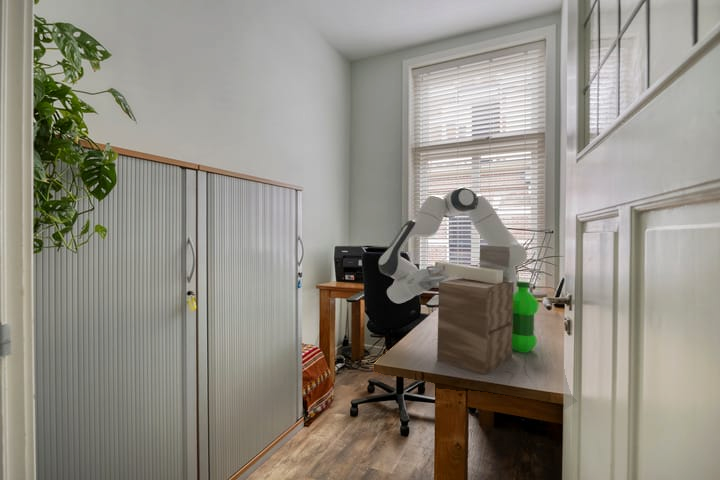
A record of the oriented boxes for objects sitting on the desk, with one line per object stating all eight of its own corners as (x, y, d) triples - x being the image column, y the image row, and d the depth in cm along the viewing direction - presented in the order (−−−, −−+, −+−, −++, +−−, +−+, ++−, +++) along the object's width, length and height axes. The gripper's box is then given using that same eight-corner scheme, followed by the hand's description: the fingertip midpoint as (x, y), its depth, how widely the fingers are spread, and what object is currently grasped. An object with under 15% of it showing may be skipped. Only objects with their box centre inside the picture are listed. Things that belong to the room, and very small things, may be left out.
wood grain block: (468, 345, 130) (470, 244, 129) (511, 356, 119) (514, 246, 118) (437, 360, 114) (439, 245, 113) (484, 375, 103) (487, 247, 102)
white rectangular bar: (442, 271, 133) (442, 261, 132) (502, 282, 114) (503, 270, 114) (434, 272, 130) (435, 262, 129) (495, 284, 111) (496, 271, 111)
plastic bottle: (528, 357, 119) (530, 284, 119) (500, 348, 128) (501, 280, 127) (542, 351, 125) (544, 282, 125) (515, 343, 134) (516, 279, 133)
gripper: (400, 276, 130) (428, 259, 121) (430, 272, 145) (457, 257, 136) (407, 291, 128) (436, 276, 119) (436, 286, 143) (464, 272, 134)
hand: (447, 266), depth 128 cm, fingers closed on white rectangular bar, 5 cm apart
